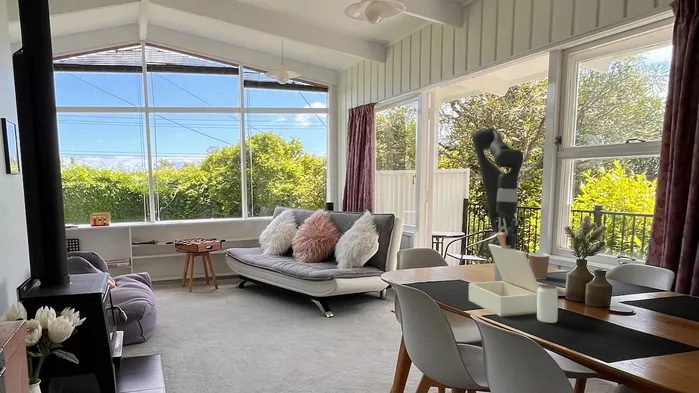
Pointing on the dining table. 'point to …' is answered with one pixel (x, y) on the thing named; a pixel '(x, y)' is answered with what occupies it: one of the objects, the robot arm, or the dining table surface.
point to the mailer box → (503, 298)
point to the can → (547, 303)
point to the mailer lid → (513, 264)
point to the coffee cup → (539, 264)
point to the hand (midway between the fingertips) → (505, 244)
